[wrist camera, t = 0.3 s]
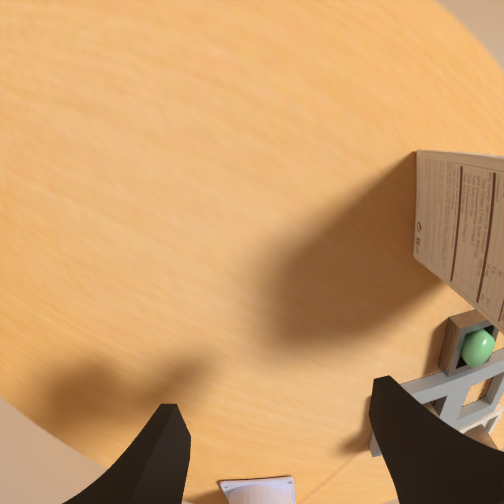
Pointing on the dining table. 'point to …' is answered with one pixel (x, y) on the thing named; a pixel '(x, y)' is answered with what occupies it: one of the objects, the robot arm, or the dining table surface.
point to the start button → (477, 347)
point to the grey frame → (457, 394)
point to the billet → (481, 436)
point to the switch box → (461, 340)
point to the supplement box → (463, 225)
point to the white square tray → (485, 420)
